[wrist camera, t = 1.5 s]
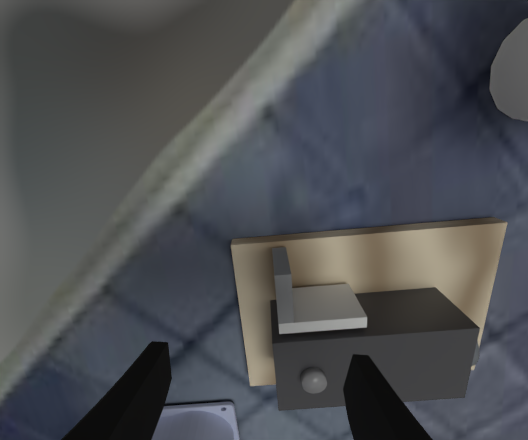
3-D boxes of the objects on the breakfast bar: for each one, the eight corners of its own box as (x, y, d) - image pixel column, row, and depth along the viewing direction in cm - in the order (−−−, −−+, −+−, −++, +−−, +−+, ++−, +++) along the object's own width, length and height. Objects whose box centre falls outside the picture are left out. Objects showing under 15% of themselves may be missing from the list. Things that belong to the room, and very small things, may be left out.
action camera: (275, 358, 23) (279, 419, 18) (270, 299, 21) (272, 350, 16) (436, 346, 23) (483, 405, 18) (445, 286, 21) (501, 333, 16)
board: (250, 374, 25) (250, 386, 24) (232, 238, 21) (230, 245, 20) (464, 358, 25) (473, 369, 24) (493, 217, 20) (507, 222, 19)
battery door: (276, 298, 21) (279, 334, 17) (272, 248, 19) (274, 275, 16) (348, 292, 21) (366, 327, 17) (349, 241, 19) (369, 267, 16)
